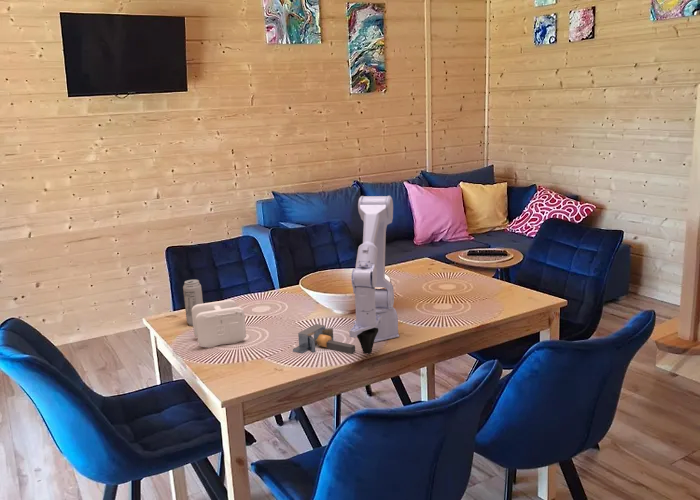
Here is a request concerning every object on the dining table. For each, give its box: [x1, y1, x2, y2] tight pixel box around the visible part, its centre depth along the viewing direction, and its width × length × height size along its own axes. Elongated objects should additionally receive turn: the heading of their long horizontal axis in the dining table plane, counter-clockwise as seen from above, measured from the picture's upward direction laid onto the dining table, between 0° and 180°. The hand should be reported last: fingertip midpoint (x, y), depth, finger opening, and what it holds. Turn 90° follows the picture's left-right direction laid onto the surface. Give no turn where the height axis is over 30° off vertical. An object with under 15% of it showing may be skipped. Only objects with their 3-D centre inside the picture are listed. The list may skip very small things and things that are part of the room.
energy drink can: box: [182, 279, 204, 327], centre depth 222 cm, size 6×6×15 cm
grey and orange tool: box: [315, 334, 356, 355], centre depth 195 cm, size 13×4×4 cm, turn 56°
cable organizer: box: [192, 299, 247, 349], centre depth 205 cm, size 15×11×12 cm
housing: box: [292, 323, 335, 354], centre depth 199 cm, size 6×15×5 cm, turn 146°
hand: (367, 352), depth 189 cm, fingers closed
